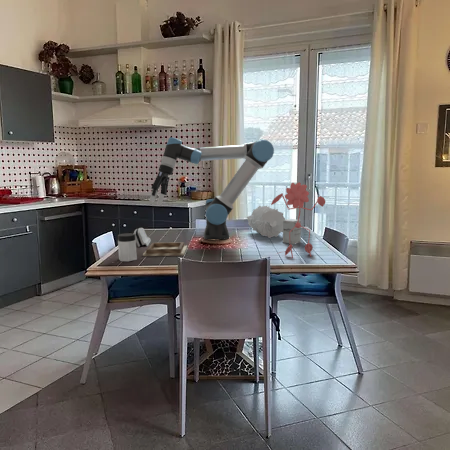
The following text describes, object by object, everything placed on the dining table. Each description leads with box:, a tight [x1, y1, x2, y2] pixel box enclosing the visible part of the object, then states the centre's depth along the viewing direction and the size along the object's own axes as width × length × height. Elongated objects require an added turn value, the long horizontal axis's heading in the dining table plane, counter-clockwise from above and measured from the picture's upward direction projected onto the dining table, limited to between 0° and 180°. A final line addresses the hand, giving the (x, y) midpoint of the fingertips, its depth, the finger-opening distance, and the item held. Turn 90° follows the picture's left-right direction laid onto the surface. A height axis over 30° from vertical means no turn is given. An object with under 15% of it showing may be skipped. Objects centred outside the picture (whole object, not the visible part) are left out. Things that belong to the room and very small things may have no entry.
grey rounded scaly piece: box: [246, 205, 286, 239], centre depth 262 cm, size 18×18×25 cm
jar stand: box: [142, 241, 188, 257], centre depth 223 cm, size 20×19×3 cm
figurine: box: [270, 181, 326, 259], centre depth 209 cm, size 15×26×35 cm, turn 103°
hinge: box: [133, 227, 152, 248], centre depth 244 cm, size 17×5×10 cm, turn 3°
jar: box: [117, 232, 138, 262], centre depth 207 cm, size 9×8×12 cm
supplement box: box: [282, 218, 302, 245], centre depth 239 cm, size 7×7×13 cm
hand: (155, 203), depth 234 cm, fingers open, 13 cm apart
